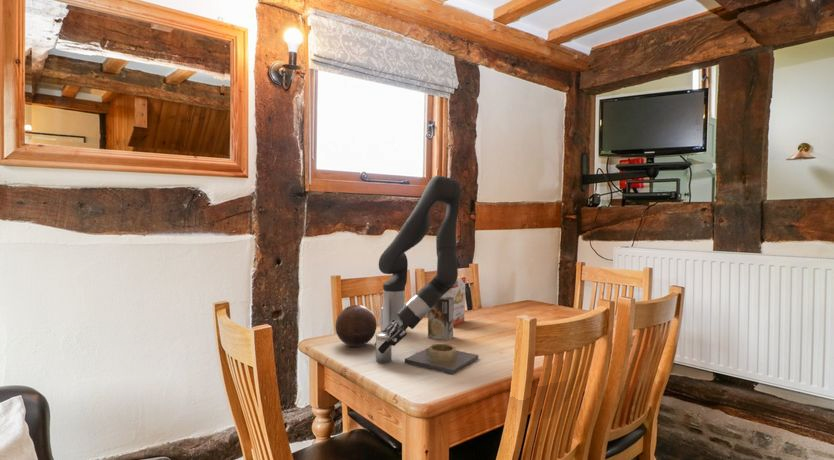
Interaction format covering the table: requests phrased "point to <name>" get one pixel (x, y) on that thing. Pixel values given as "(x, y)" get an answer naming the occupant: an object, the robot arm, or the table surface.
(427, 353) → the square base with socket
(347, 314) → the wooden sphere
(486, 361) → the table surface
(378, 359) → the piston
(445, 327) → the coffee box
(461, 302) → the cracker box
